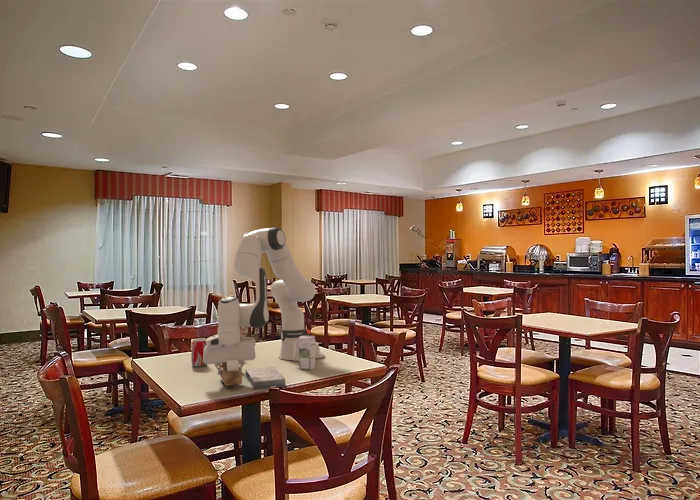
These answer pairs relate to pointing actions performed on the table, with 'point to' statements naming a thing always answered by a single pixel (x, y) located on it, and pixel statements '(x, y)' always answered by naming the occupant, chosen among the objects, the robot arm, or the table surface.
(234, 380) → the brown wooden tray
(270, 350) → the table surface
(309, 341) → the syrup box
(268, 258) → the robot arm
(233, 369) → the white cube
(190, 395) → the table surface
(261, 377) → the block
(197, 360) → the soda can
